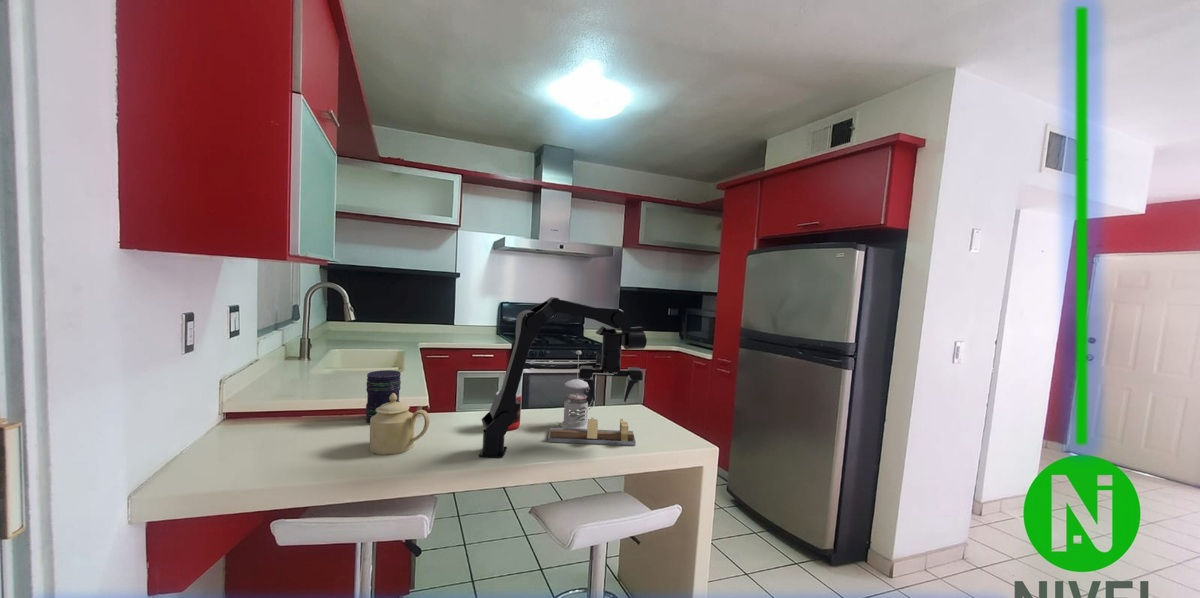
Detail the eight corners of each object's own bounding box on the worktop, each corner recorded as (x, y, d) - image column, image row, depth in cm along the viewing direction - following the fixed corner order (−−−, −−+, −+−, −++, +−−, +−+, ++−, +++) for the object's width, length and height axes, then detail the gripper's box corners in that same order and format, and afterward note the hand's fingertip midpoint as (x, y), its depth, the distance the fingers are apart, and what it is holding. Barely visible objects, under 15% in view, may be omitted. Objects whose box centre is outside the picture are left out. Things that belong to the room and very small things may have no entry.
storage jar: (359, 424, 137) (360, 376, 136) (373, 414, 147) (374, 369, 146) (392, 424, 138) (394, 377, 137) (404, 415, 148) (405, 370, 147)
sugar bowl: (428, 437, 130) (430, 386, 129) (428, 451, 119) (430, 396, 118) (372, 441, 124) (373, 388, 124) (366, 456, 114) (368, 399, 113)
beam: (634, 441, 131) (634, 426, 131) (549, 438, 130) (550, 422, 130) (631, 433, 138) (632, 418, 138) (551, 430, 137) (552, 415, 137)
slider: (597, 439, 131) (597, 423, 131) (586, 438, 131) (587, 423, 131) (596, 431, 138) (597, 416, 137) (586, 430, 138) (587, 416, 137)
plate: (635, 445, 131) (635, 441, 131) (547, 442, 130) (547, 437, 130) (632, 434, 140) (632, 430, 140) (550, 431, 139) (550, 427, 139)
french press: (555, 422, 148) (559, 348, 147) (586, 418, 154) (590, 347, 153) (567, 431, 140) (571, 353, 139) (599, 427, 145) (603, 352, 144)
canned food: (492, 424, 143) (493, 390, 143) (516, 422, 147) (517, 389, 146) (497, 432, 136) (498, 397, 136) (522, 429, 140) (524, 395, 139)
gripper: (639, 346, 140) (637, 395, 141) (580, 344, 140) (578, 393, 140) (644, 352, 129) (641, 405, 130) (580, 350, 129) (578, 403, 129)
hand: (609, 401), depth 133 cm, fingers open, 9 cm apart
